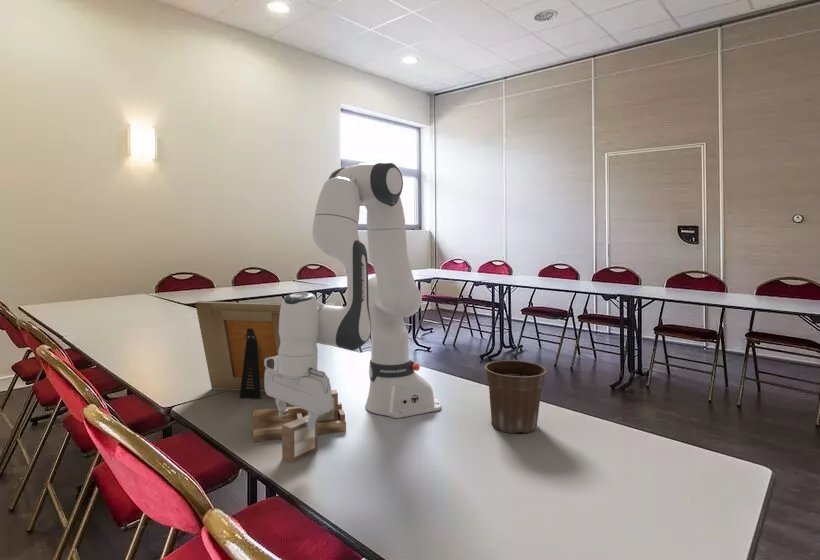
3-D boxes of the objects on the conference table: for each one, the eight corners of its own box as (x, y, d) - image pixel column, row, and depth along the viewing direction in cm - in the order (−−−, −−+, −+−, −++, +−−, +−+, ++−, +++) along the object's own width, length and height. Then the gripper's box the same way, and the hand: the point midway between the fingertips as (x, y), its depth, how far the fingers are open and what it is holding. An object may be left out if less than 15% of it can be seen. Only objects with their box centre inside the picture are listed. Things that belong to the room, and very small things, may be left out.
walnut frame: (309, 446, 117) (309, 414, 116) (318, 450, 115) (318, 418, 114) (282, 458, 110) (281, 425, 110) (291, 463, 108) (290, 428, 108)
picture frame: (310, 392, 155) (309, 300, 152) (300, 403, 146) (299, 305, 143) (213, 387, 159) (211, 297, 156) (197, 398, 149) (194, 301, 146)
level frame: (336, 418, 130) (336, 389, 130) (337, 422, 127) (337, 393, 127) (305, 421, 128) (305, 392, 127) (307, 426, 125) (306, 396, 124)
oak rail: (340, 419, 133) (341, 402, 133) (346, 431, 126) (346, 412, 125) (253, 428, 126) (253, 410, 126) (253, 441, 119) (253, 421, 118)
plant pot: (473, 428, 129) (475, 369, 127) (495, 410, 143) (497, 356, 141) (533, 443, 121) (536, 380, 119) (550, 421, 134) (553, 365, 133)
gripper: (339, 370, 106) (337, 431, 108) (281, 354, 119) (280, 408, 120) (317, 376, 101) (315, 440, 103) (259, 358, 114) (259, 415, 115)
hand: (296, 422), depth 111 cm, fingers open, 8 cm apart
